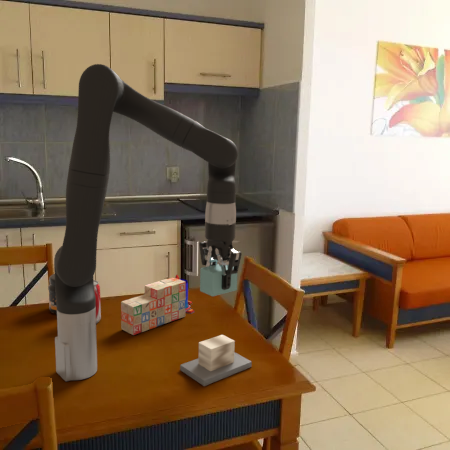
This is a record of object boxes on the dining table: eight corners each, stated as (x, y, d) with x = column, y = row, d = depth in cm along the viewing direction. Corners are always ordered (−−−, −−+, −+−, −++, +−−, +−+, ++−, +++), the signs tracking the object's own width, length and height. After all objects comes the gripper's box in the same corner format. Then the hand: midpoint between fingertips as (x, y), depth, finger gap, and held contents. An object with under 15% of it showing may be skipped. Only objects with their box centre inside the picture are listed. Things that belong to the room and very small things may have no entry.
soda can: (83, 328, 147) (82, 288, 145) (73, 320, 152) (72, 281, 150) (104, 322, 152) (104, 283, 149) (94, 315, 157) (93, 277, 155)
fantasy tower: (159, 302, 171) (159, 270, 169) (192, 301, 173) (192, 269, 171) (160, 315, 160) (160, 280, 157) (195, 313, 162) (196, 280, 159)
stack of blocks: (133, 336, 143) (132, 297, 140) (120, 329, 147) (120, 291, 144) (185, 316, 158) (186, 281, 155) (173, 310, 162) (173, 276, 159)
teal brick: (212, 296, 116) (213, 272, 115) (199, 290, 120) (200, 268, 119) (236, 290, 121) (237, 267, 120) (224, 285, 125) (224, 263, 124)
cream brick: (210, 371, 120) (211, 349, 119) (198, 363, 124) (198, 342, 123) (234, 362, 125) (234, 340, 124) (221, 355, 129) (222, 334, 128)
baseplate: (204, 386, 116) (204, 380, 116) (180, 370, 123) (180, 364, 123) (251, 366, 126) (251, 361, 126) (226, 352, 134) (227, 348, 133)
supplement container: (45, 308, 162) (43, 274, 160) (75, 302, 168) (74, 269, 166) (54, 318, 154) (53, 282, 152) (86, 311, 160) (85, 277, 158)
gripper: (190, 216, 120) (189, 281, 123) (228, 226, 109) (225, 297, 113) (213, 214, 125) (212, 276, 128) (251, 223, 114) (248, 290, 118)
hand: (218, 285), depth 120 cm, fingers closed on teal brick, 5 cm apart
